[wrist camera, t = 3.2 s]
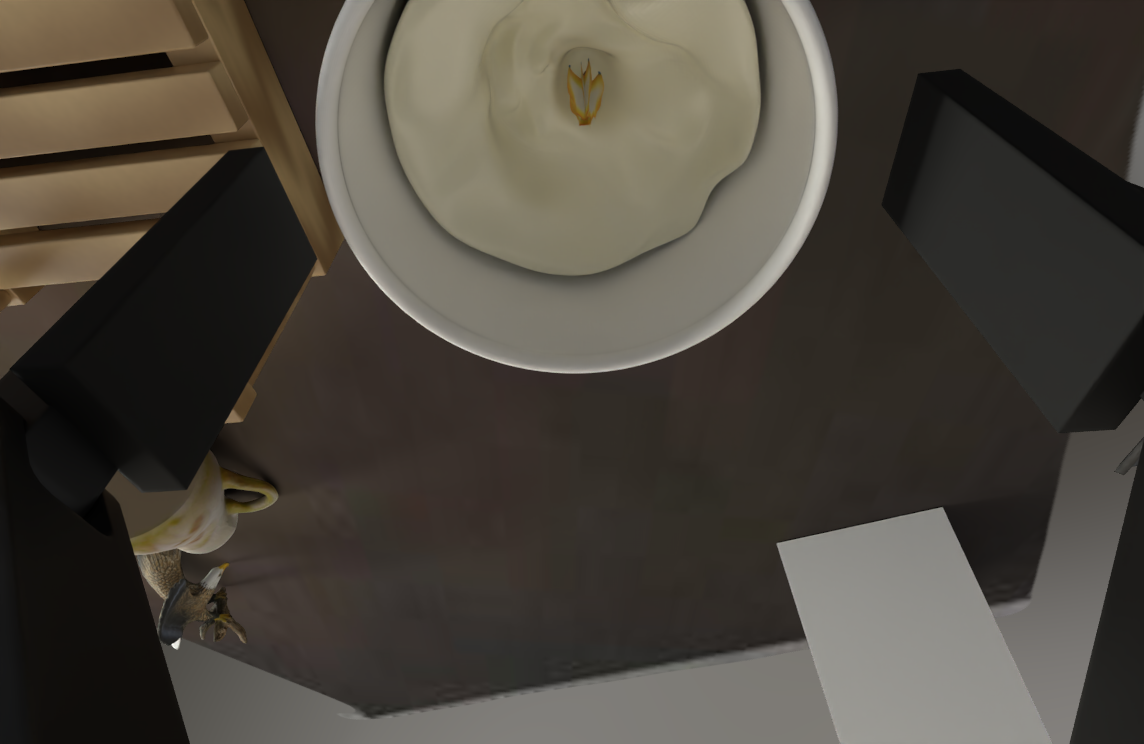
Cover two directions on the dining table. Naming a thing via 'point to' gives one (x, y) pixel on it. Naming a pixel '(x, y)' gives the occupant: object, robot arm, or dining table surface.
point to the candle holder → (576, 166)
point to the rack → (136, 134)
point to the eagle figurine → (187, 598)
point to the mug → (187, 510)
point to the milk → (907, 637)
